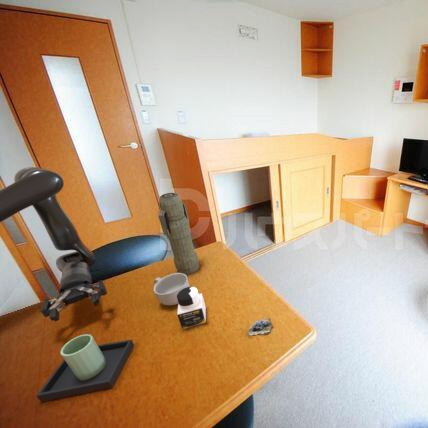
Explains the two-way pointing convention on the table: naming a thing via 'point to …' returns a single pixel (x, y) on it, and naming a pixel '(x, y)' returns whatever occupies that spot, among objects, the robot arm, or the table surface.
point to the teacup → (170, 287)
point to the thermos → (178, 232)
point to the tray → (70, 385)
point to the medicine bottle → (191, 307)
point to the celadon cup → (83, 356)
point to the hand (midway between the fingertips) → (76, 311)
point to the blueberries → (260, 327)
